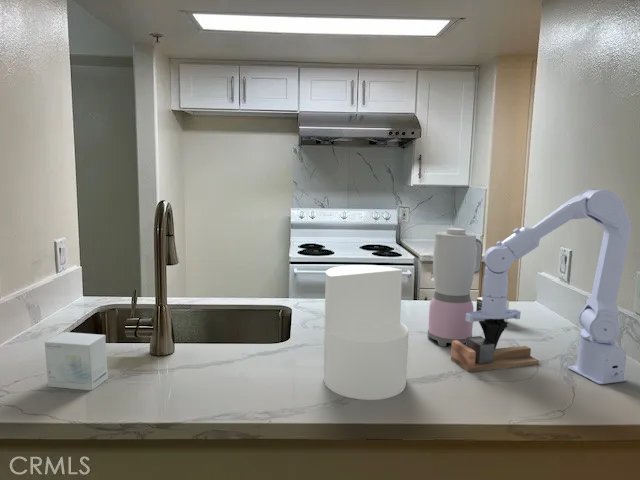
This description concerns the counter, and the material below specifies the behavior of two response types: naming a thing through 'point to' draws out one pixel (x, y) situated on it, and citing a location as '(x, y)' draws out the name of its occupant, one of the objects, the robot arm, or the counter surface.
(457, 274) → the blender
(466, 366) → the rail board
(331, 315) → the cylinder
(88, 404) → the counter surface
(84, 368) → the skincare box
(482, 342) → the keeper
